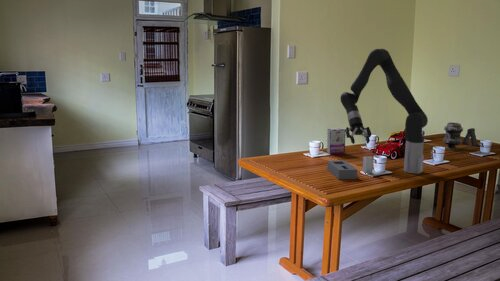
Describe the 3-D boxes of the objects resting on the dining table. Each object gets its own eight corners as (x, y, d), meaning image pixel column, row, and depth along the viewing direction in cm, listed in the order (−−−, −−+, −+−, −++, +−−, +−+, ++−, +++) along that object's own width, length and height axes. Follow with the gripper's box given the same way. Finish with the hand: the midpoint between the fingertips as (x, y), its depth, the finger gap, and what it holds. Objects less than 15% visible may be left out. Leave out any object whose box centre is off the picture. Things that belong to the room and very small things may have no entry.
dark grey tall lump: (460, 151, 285) (463, 125, 282) (441, 149, 291) (443, 123, 287) (461, 148, 295) (464, 122, 292) (443, 146, 301) (445, 121, 298)
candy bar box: (341, 151, 283) (342, 127, 280) (345, 153, 279) (346, 129, 275) (326, 152, 280) (327, 128, 277) (329, 154, 276) (330, 129, 272)
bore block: (344, 168, 240) (344, 160, 239) (356, 178, 221) (357, 169, 220) (327, 169, 239) (327, 160, 238) (338, 179, 219) (338, 170, 219)
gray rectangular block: (369, 172, 234) (370, 156, 232) (372, 173, 230) (373, 158, 228) (362, 172, 233) (363, 156, 231) (365, 174, 229) (366, 158, 228)
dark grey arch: (461, 144, 308) (463, 128, 306) (465, 143, 312) (466, 127, 309) (474, 146, 301) (476, 129, 299) (477, 145, 305) (479, 128, 303)
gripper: (345, 116, 245) (350, 139, 236) (368, 116, 246) (375, 139, 238) (341, 124, 251) (347, 146, 242) (364, 123, 253) (370, 146, 244)
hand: (361, 142), depth 240 cm, fingers open, 8 cm apart
